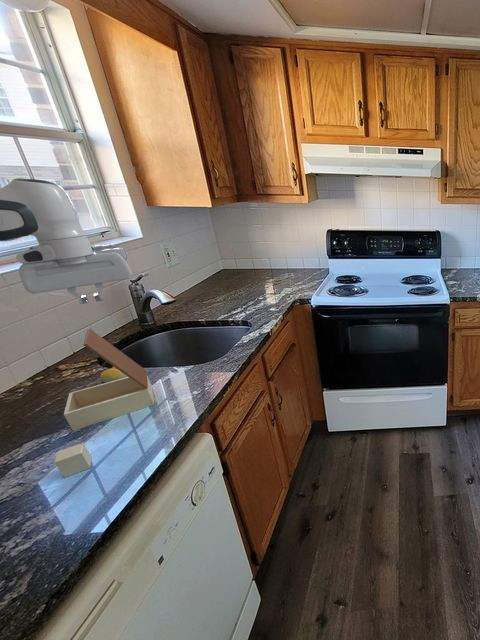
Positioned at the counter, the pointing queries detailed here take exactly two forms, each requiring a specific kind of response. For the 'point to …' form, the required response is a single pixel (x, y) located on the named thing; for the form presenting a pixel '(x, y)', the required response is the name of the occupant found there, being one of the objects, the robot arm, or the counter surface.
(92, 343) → the cover
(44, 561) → the counter surface
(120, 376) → the yellow rounded lump
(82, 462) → the tan block
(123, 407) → the case
